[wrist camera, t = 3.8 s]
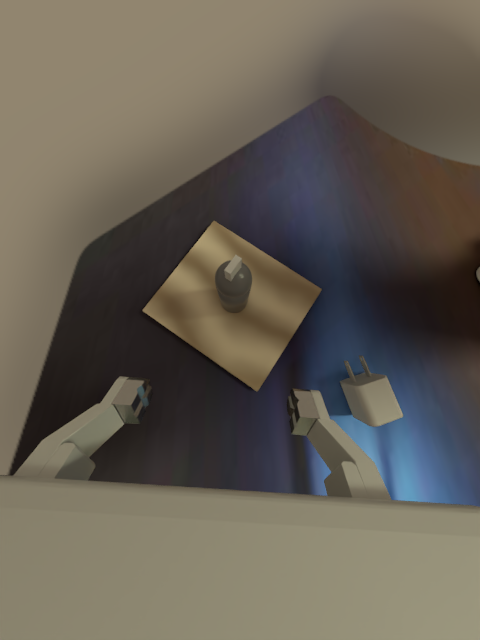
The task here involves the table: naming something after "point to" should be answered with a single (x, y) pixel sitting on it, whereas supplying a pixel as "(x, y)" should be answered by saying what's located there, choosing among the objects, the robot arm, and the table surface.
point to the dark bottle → (233, 284)
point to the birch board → (225, 327)
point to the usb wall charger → (370, 397)
